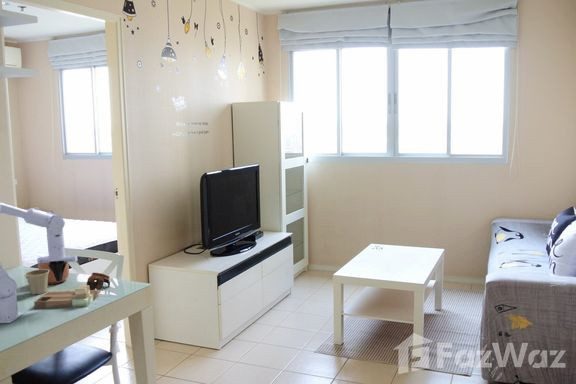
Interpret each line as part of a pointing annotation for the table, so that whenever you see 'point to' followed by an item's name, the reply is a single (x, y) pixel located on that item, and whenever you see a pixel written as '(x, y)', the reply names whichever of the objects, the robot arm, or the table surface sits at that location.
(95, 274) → the pottery mug
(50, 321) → the table surface
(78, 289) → the birch block
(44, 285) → the flower pot
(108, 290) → the table surface
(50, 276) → the planter
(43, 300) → the board
